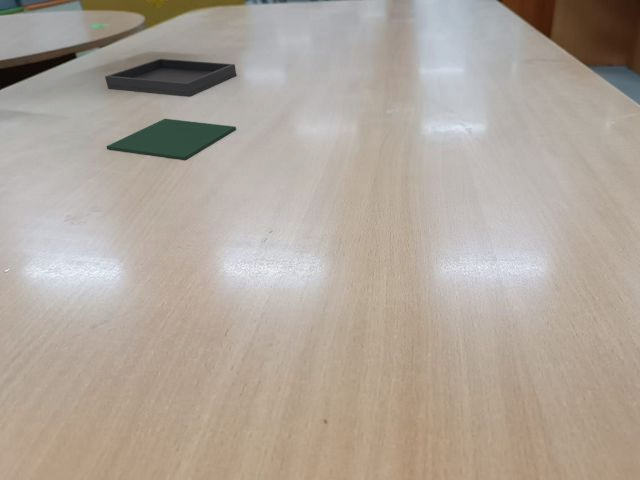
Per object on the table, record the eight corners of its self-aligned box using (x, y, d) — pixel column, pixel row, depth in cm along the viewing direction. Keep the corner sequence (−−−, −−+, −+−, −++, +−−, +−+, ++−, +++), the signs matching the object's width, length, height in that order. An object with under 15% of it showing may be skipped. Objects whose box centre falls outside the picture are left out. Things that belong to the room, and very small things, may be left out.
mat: (106, 149, 66) (106, 146, 66) (165, 121, 75) (164, 118, 75) (185, 160, 63) (184, 156, 62) (236, 129, 72) (235, 126, 72)
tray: (108, 88, 91) (104, 76, 90) (162, 69, 103) (159, 58, 102) (189, 96, 86) (187, 83, 85) (236, 75, 98) (234, 64, 97)
